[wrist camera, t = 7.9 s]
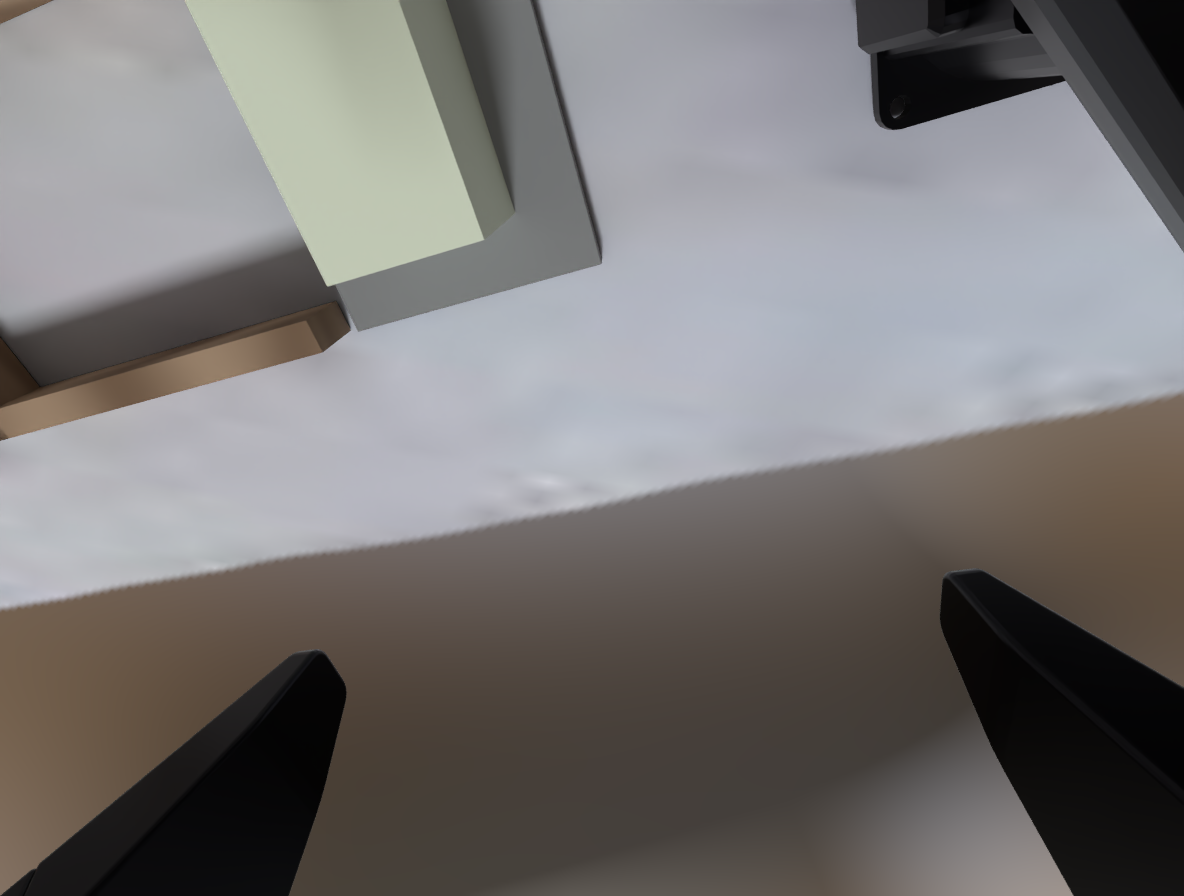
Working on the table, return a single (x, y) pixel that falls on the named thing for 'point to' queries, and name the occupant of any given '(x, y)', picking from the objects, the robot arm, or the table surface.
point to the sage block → (362, 125)
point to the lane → (157, 357)
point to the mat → (530, 169)
